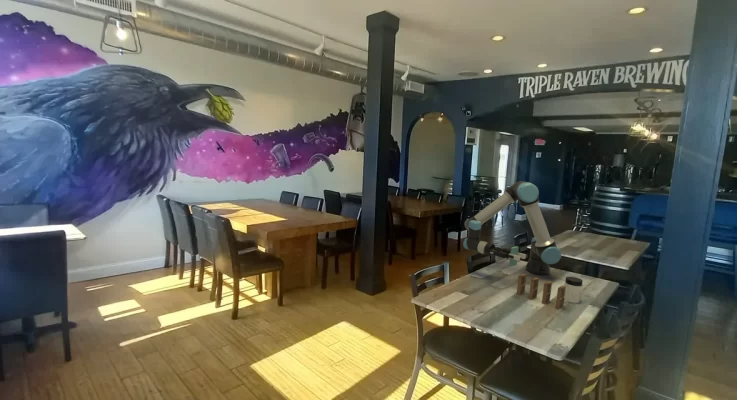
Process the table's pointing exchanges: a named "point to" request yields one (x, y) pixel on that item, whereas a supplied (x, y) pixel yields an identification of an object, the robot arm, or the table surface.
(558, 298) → the domino
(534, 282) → the domino
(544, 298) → the domino
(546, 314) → the table surface
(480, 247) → the robot arm
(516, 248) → the domino teal
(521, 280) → the domino
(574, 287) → the jar
